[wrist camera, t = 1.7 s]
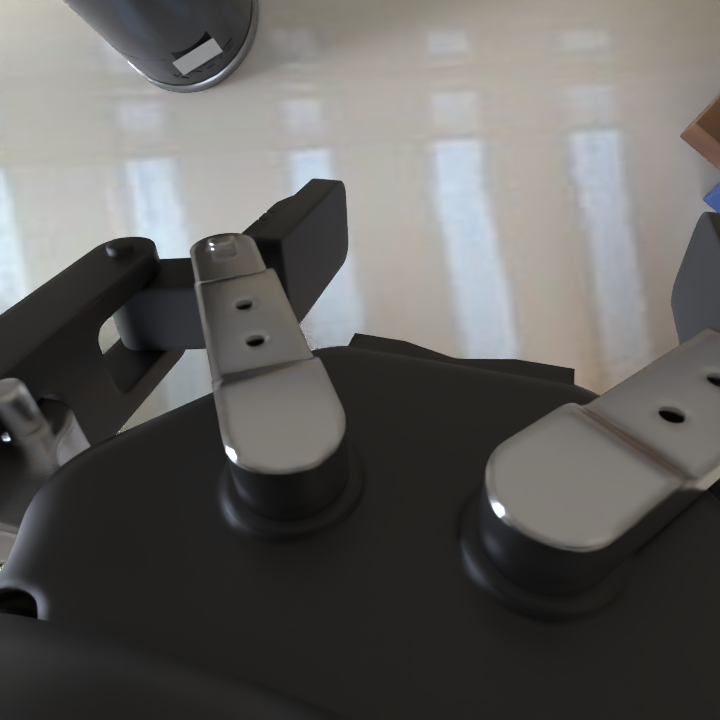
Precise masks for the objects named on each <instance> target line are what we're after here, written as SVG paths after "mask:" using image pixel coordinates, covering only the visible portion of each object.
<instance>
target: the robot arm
mask: <svg viewBox="0 0 720 720" xmlns="http://www.w3.org/2000/svg"><path fill="white" fill-rule="evenodd" d="M62 1H64V2H65V3H66V4H67V5H68V6H69V7H70V8H71V9H72V10H73V11H74V12H76V13H77V14H78V15H79V16H80V17H81V18H82V19H83V20H84V21H85V22H86V23H88V24H89V25H90V26H91V27H92V28H93V29H94V30H95V31H96V32H97V33H98V34H100V35H101V36H102V37H103V38H104V39H105V40H106V41H107V42H108V43H109V44H110V45H111V46H112V47H114V48H115V49H116V50H117V51H118V52H119V53H120V54H121V55H122V56H123V57H124V58H126V59H127V60H128V61H129V63H130V64H131V65H132V66H133V68H134V69H135V70H136V71H138V72H139V73H140V74H141V75H142V76H143V77H144V78H145V79H147V80H148V81H149V82H151V83H152V84H154V85H156V86H158V87H160V88H162V89H165V90H168V91H173V92H181V93H188V92H196V91H201V90H204V89H207V88H210V87H212V86H214V85H216V84H218V83H220V82H221V81H223V80H224V79H226V78H227V77H228V76H229V75H230V74H232V73H233V72H234V71H235V70H236V69H237V67H238V66H239V65H240V64H241V63H242V61H243V60H244V58H245V57H246V55H247V53H248V51H249V49H250V47H251V45H252V42H253V39H254V36H255V33H256V28H257V21H258V5H257V0H62ZM347 251H348V226H347V208H346V191H345V186H344V184H343V182H342V181H338V180H326V179H312V180H310V181H309V182H308V183H307V184H306V185H305V186H304V187H303V188H302V189H301V190H299V191H298V192H297V193H296V194H295V195H294V196H291V197H288V198H286V199H284V200H281V201H279V202H277V203H276V204H274V205H273V206H272V207H271V208H270V209H269V210H268V211H267V213H264V214H263V215H262V216H261V217H260V218H259V220H256V221H255V222H254V223H253V224H252V225H251V226H249V227H248V228H247V229H246V230H245V231H244V232H243V233H241V234H238V233H224V234H218V235H213V236H209V237H207V238H204V239H202V240H200V241H198V242H197V243H195V244H194V245H193V246H192V247H191V249H190V255H191V258H177V259H159V256H158V253H157V249H156V246H155V243H154V242H153V241H152V240H150V239H147V238H143V237H126V238H118V239H114V240H112V241H108V242H106V243H103V244H101V245H99V246H97V247H96V248H94V249H93V250H91V251H90V252H89V253H87V254H86V255H84V256H83V257H82V258H80V259H79V260H77V261H76V262H75V263H73V264H72V265H70V266H69V267H68V268H66V269H65V270H63V271H62V272H60V273H59V274H58V275H56V276H55V277H53V278H52V279H51V280H49V281H48V282H46V283H45V284H44V285H42V286H41V287H39V288H38V289H37V290H35V291H34V292H32V293H31V294H29V295H28V296H27V297H25V298H24V299H22V300H21V301H20V302H18V303H17V304H15V305H14V306H13V307H11V308H10V309H8V310H7V311H6V312H4V313H3V314H1V315H0V567H1V566H2V565H4V567H3V569H2V570H1V572H0V720H720V213H715V212H704V213H703V214H702V215H701V217H700V218H699V220H698V222H697V224H696V227H695V229H694V232H693V235H692V237H691V240H690V243H689V245H688V248H687V251H686V253H685V256H684V258H683V261H682V264H681V266H680V269H679V272H678V274H677V277H676V280H675V283H674V287H673V291H672V298H671V306H672V311H673V315H674V320H675V324H676V329H677V333H678V337H679V342H680V345H679V346H678V347H676V348H675V349H673V350H672V351H670V352H668V353H667V354H665V355H664V356H662V357H661V358H659V359H657V360H656V361H654V362H653V363H651V364H650V365H648V366H646V367H645V368H643V369H642V370H640V371H639V372H637V373H635V374H634V375H632V376H631V377H629V378H628V379H626V380H625V381H623V382H621V383H620V384H618V385H617V386H615V387H614V388H612V389H610V390H609V391H607V392H606V393H604V394H603V395H601V396H599V395H598V394H596V393H594V392H591V391H589V390H587V389H584V388H582V387H579V386H577V385H574V371H575V369H572V368H565V367H559V366H553V365H547V364H541V363H535V362H529V361H523V360H517V359H457V358H452V357H449V356H446V355H443V354H440V353H438V352H435V351H432V350H429V349H426V348H423V347H420V346H417V345H414V344H412V343H409V342H406V341H401V340H395V339H388V338H382V337H376V336H370V335H364V334H358V333H355V334H354V336H353V338H352V340H351V341H350V343H349V345H348V346H336V347H327V348H321V349H316V350H312V351H311V350H310V348H309V346H308V343H307V341H306V339H305V337H304V335H303V332H302V330H301V328H300V326H299V324H300V323H301V321H302V320H303V319H304V317H305V316H306V315H307V313H308V312H309V310H310V309H311V308H312V306H313V305H314V304H315V302H316V301H317V299H318V298H319V297H320V295H321V294H322V293H323V291H324V290H325V288H326V287H327V286H328V284H329V283H330V282H331V280H332V279H333V277H334V276H335V275H336V273H337V272H338V271H339V269H340V268H341V266H342V265H343V264H344V262H345V259H346V256H347ZM111 316H113V319H114V321H115V324H116V326H117V329H118V332H119V334H120V337H121V338H120V339H119V340H118V341H117V342H116V343H115V344H114V345H113V346H112V347H111V348H110V349H108V350H107V351H106V352H105V353H104V354H102V351H101V349H100V346H99V342H98V336H99V331H100V328H101V326H102V325H103V323H104V322H105V321H106V320H107V319H109V318H110V317H111ZM185 349H207V354H208V359H209V365H210V370H211V375H212V388H213V392H212V393H210V394H208V395H206V396H203V397H201V398H199V399H197V400H194V401H192V402H190V403H187V404H185V405H183V406H181V407H178V408H176V409H174V410H172V411H169V412H167V413H165V414H163V415H160V416H158V417H156V418H153V419H151V420H149V421H147V422H144V423H142V424H140V425H138V426H135V427H133V428H131V429H129V430H126V431H124V432H122V433H119V434H117V432H118V431H119V430H120V429H121V428H122V426H123V425H124V424H125V423H126V422H127V421H128V419H129V418H130V417H131V416H132V415H133V413H134V412H135V411H136V410H137V409H138V408H139V406H140V405H141V404H142V403H143V402H144V400H145V399H146V398H147V397H148V396H149V395H150V393H151V392H152V391H153V390H154V389H155V387H156V386H157V385H158V384H159V383H160V382H161V380H162V379H163V378H164V377H165V376H166V374H167V373H168V372H169V371H170V370H171V369H172V367H173V366H174V365H175V364H176V363H177V361H178V360H179V359H180V358H181V357H182V355H183V354H184V352H185ZM116 434H117V435H116Z"/></svg>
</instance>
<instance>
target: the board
mask: <svg viewBox="0 0 720 720" xmlns="http://www.w3.org/2000/svg"><path fill="white" fill-rule="evenodd" d="M680 137H681V138H682V139H683V140H684V141H686V142H687V143H688V144H689V145H690V146H691V147H693V148H694V149H695V150H696V151H697V152H699V153H700V154H701V155H702V156H703V157H705V158H706V159H707V160H708V161H709V162H711V163H712V164H713V165H714V166H715V167H716V168H718V169H719V170H720V94H719V95H718V96H717V97H716V98H715V99H714V100H713V101H712V102H711V103H710V104H709V105H708V106H707V107H706V109H705V110H704V111H703V112H702V113H701V114H700V115H699V116H698V117H697V118H696V119H695V120H694V121H693V122H692V123H691V124H690V125H689V126H688V128H687V129H686V130H685V131H684V132H683V133H682V134H681V135H680Z"/></svg>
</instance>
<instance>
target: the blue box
mask: <svg viewBox="0 0 720 720" xmlns="http://www.w3.org/2000/svg"><path fill="white" fill-rule="evenodd" d="M703 200H704V201H705V202H706V203H707V204H708V205H710V206H711V207H712V208H713V209H714V210H715V211H717V212H718V213H720V182H719V183H718V184H717V185H716V186H715V187H714V188H713V189H712V190H711V191H710V192H709V193H708V194H707V195H706V196H705V198H704V199H703Z"/></svg>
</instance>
